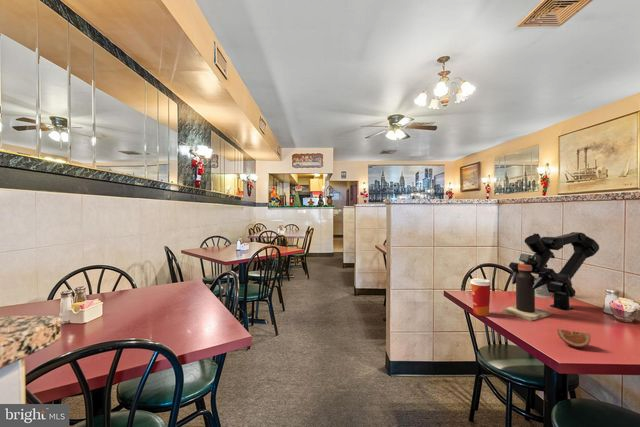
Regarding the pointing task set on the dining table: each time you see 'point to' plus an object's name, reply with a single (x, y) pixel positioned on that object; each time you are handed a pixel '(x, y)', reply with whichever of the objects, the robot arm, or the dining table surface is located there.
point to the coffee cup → (480, 296)
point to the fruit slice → (574, 338)
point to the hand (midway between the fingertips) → (522, 286)
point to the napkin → (526, 313)
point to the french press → (542, 290)
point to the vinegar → (525, 289)
